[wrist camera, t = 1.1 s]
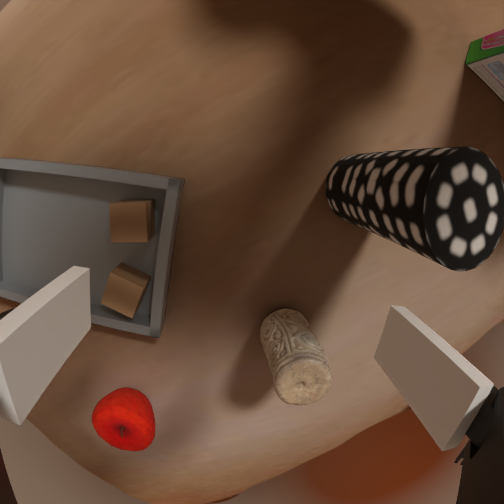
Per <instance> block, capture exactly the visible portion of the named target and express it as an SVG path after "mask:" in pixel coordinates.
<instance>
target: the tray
mask: <svg viewBox="0 0 504 504" xmlns="http://www.w3.org/2000/svg"><path fill="white" fill-rule="evenodd" d="M184 180H185V179H181V178H174V177H168V176H162V175H155V174H148V173H141V172H134V171H127V170H120V169H112V168H104V167H96V166H88V165H79V164H70V163H61V162H51V161H40V160H29V159H16V158H0V297H3V298H6V299H9V300H12V301H16V302H19V303H23V302H24V301H26V300H27V299H28V298H30V297H31V296H32V295H34V294H35V293H36V292H38V291H39V290H40V289H42V288H43V287H45V286H46V285H47V284H49V283H50V282H52V281H53V280H54V279H56V278H57V277H59V276H60V275H61V274H63V273H64V272H66V271H67V270H69V269H70V268H71V267H73V266H78V267H84V268H90V314H91V323H93V324H97V325H102V326H106V327H110V328H114V329H119V330H123V331H128V332H132V333H137V334H142V335H147V336H152V337H157V338H160V335H161V332H162V329H163V327H164V322H165V312H166V303H167V294H168V286H169V278H170V270H171V262H172V255H173V248H174V241H175V234H176V228H177V221H178V215H179V209H180V203H181V197H182V191H183V186H184ZM141 199H155V236H153V237H152V238H151V239H150V240H149V241H148V242H111V234H110V214H109V204H110V203H113V202H116V201H120V200H141ZM121 262H123V263H125V264H127V265H129V266H131V267H133V268H135V269H137V270H139V271H141V272H144V273H146V274H148V275H150V276H151V279H150V281H149V284H148V287H147V289H146V292H145V294H144V297H143V299H142V302H141V305H140V306H139V308H138V310H137V311H136V313H135V315H134V316H133V318H130V317H128V316H126V315H124V314H122V313H120V312H118V311H115V310H113V309H111V308H109V307H107V306H105V305H103V304H101V300H102V297H103V294H104V290H105V287H106V284H107V281H108V278H109V275H110V272H111V271H112V270H113V269H114V268H116V267H117V266H118V265H119V264H120V263H121Z"/></svg>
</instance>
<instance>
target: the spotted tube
mask: <svg viewBox="0 0 504 504" xmlns="http://www.w3.org/2000/svg"><path fill="white" fill-rule="evenodd" d="M326 196H327V200H328V202H329V205H330V207H331V208H332V210H333V211H334V212H335V213H336V215H338V216H339V217H340V218H341V219H343V220H345V221H347V222H350V223H352V224H354V225H357V226H359V227H361V228H363V229H366V230H368V231H370V232H372V233H375V234H377V235H379V236H381V237H384V238H386V239H388V240H390V241H392V242H395V243H397V244H399V245H401V246H403V247H405V248H407V249H410V250H412V251H414V252H416V253H418V254H420V255H422V256H424V257H426V258H428V259H430V260H432V261H434V262H437V263H439V264H441V265H443V266H445V267H447V268H449V269H451V270H455V271H468V270H471V269H474V268H476V267H477V266H479V265H480V264H482V263H483V262H484V261H485V260H486V259H487V258H488V257H489V256H490V255H491V253H492V252H493V251H494V249H495V247H496V246H497V244H498V242H499V240H500V237H501V234H502V232H503V228H504V184H503V180H502V177H501V175H500V173H499V171H498V169H497V167H496V165H495V164H494V163H493V161H492V160H491V159H490V158H489V157H488V156H487V155H486V154H485V153H484V152H482V151H480V150H478V149H476V148H472V147H446V148H427V149H412V150H398V151H386V152H375V153H365V154H355V155H349V156H346V157H344V158H342V159H340V160H339V161H338V162H337V163H336V164H335V165H334V166H333V167H332V169H331V170H330V172H329V175H328V177H327V181H326Z"/></svg>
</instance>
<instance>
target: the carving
mask: <svg viewBox="0 0 504 504" xmlns="http://www.w3.org/2000/svg"><path fill="white" fill-rule="evenodd" d="M260 337H261V342H262V345H263V350H264V352H265V354H266V357H267V359H268V364H269V368H270V371H271V374H272V376H273V384H274V388H275V391H276V393H277V395H278V397H279V398H280V399H281V400H282V401H283V402H285V403H287V404H294V405H308V404H311V403H314V402H316V401H318V400H319V399H320V398H321V397H323V396H324V395H325V394H326V392H327V391H328V390H329V388H330V385H331V381H332V370H331V365H330V362H329V360H328V358H327V357H326V356H325V351H324V349H323V347H322V346H321V344H320V343H319V341H318V339H317V337H316V336H315V335H314V333H313V332H312V329H311V327H310V325H309V323H308V322H307V320H306V319H305V318H304V316H303V315H302V314H301V313H300V312H298V311H296V310H292V309H286V308H285V309H280V310H277V311H275V312H273V313H271V314H270V315H269V316H267V317H266V318H265V319H264V321H263V323H262V326H261V332H260Z"/></svg>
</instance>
